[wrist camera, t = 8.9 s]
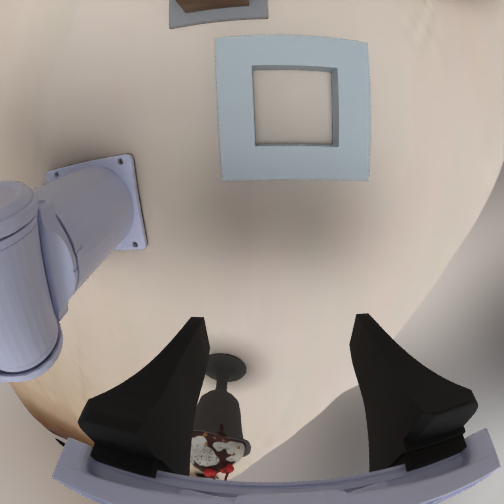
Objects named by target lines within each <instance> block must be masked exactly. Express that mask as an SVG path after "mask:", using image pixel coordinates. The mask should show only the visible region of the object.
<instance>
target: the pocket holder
mask: <svg viewBox="0 0 504 504" xmlns="http://www.w3.org/2000/svg"><path fill="white" fill-rule="evenodd" d="M215 58H216V82H217V102H218V121H219V138H220V154H221V169H222V181H239V180H275V179H323V180H358V181H368V178H369V161H370V130H371V102H370V73H369V57H368V45H367V43H365V42H359V41H353V40H346V39H338V38H329V37H318V36H303V35H246V36H231V37H220V38H215ZM252 70H308V71H324V72H331V83H332V145H329V144H256V142H255V117H254V94H253V71H252Z"/></svg>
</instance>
